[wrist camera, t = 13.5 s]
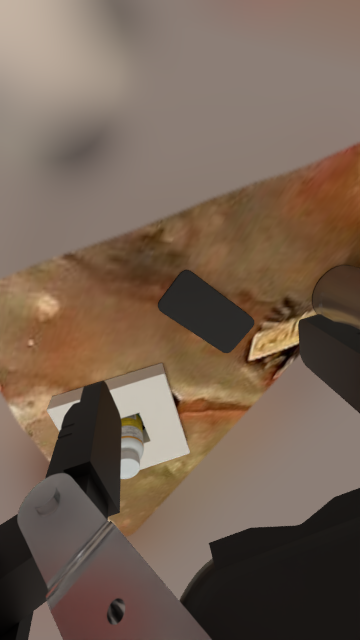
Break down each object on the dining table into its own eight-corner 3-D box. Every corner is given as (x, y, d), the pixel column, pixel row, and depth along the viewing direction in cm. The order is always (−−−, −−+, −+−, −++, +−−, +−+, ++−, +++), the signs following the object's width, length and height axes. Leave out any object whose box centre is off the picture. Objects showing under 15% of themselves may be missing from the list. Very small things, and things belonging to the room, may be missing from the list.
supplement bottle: (131, 402, 45) (132, 448, 36) (147, 421, 47) (152, 470, 38) (103, 417, 45) (98, 468, 36) (121, 436, 47) (120, 488, 38)
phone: (185, 266, 37) (257, 321, 43) (184, 265, 38) (255, 319, 43) (154, 308, 39) (227, 355, 44) (154, 306, 39) (226, 353, 45)
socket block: (162, 362, 43) (164, 373, 40) (186, 439, 50) (189, 453, 48) (51, 396, 42) (46, 409, 39) (93, 470, 49) (91, 486, 46)
